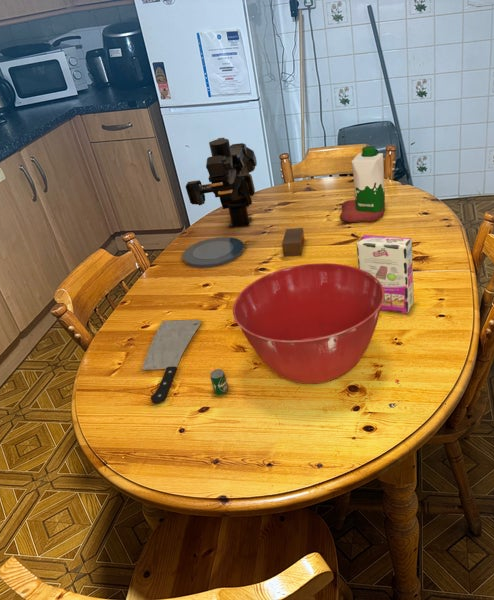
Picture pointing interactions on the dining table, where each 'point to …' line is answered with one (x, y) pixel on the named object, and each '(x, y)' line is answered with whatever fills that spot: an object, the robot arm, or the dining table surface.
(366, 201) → the milk carton
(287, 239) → the block
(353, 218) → the food model
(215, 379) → the beer can
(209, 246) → the plate
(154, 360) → the cleaver
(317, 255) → the dining table surface
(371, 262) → the candy bar box
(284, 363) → the mixing bowl
